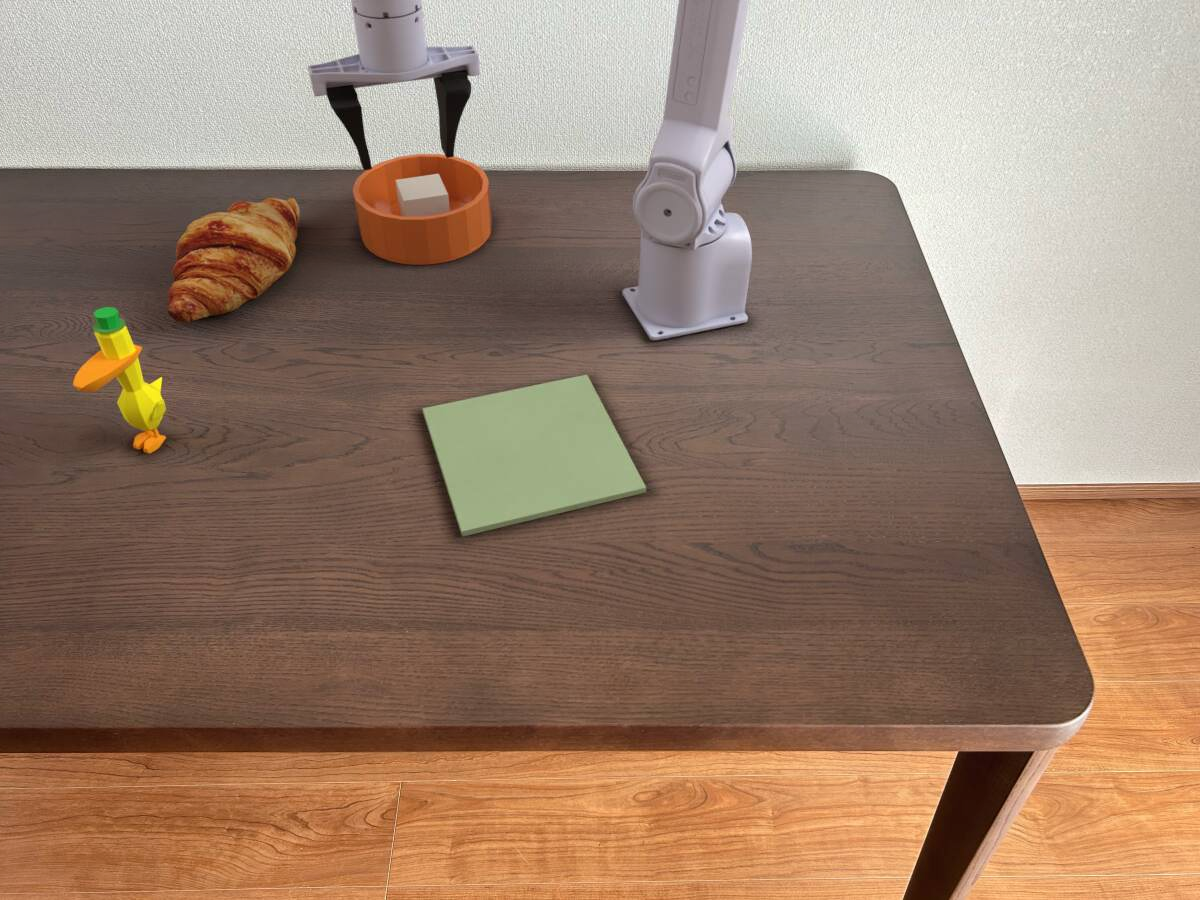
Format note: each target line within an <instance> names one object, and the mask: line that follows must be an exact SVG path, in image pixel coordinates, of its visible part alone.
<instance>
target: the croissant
mask: <svg viewBox="0 0 1200 900" xmlns="http://www.w3.org/2000/svg"><path fill="white" fill-rule="evenodd" d="M300 213H301V210H300V206H299V204H298V203H297V201H296V199H295V198H293V197H291V198H288V199H287V200H285V199H281V198H275V197H267V198H265V199H263V201H261V202H253V201H245V200H243V201H242V200H240V201H239V200H237V201H235V202H233V203H232V204H231V205H230V206H229V207H228V208H227V211H226V212H224V211H223V212H222V211H219V212H214V213H208V214H206V215H203V216H202V217H200V218H199V219H194V220H193V221H192V222H191V223H190V224H188V225H187V228H186V230H185V232H183V234H182V235H181V236H180V238H179V240H178V241H177V245H176V251H175V261H176V262H175V264H174V267H173V269H172V276H173V282H172V284H171V286H170V288H169V290H168V292H167V296H166V297H167V298H166V299H167V303H168V304H167V309H166V312H167V315H168V316H169V318H171V319H173V320H174V322H180V323H181V322H182V323H184V322H186V323H189V322H193V321H197V320H199V319H202V318H208V317H209V316H219V315H220V316H221V315H225V314H227V313H231V312H232V311H233V312H234V311H235V310H238V309H239V308H240V307H241V306H242V305H244V304H245V303H247V302H248V301H251V300H253V299H257V298H258V297H260V296H261V295H262V294H264V293H265V292H266V291H267V290H268V289H269V288H270V287H271V286H272V285H273V284H274V283H275V282H277V281H278V279H280V278H281V277H282V276H283V275H284V274H285V273H287V272H288V270H289V269H290V268H291V266H292V264H293V262H294V259H295V256H296V252H297V247H296V245H295V243H296V240H297V236H298V226H299V223H300V221H299V220H300Z"/></svg>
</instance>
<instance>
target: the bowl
mask: <svg viewBox="0 0 1200 900" xmlns="http://www.w3.org/2000/svg"><path fill="white" fill-rule="evenodd" d="M371 168H372V169H370V170H364V171H363V172H362V173H361V174H360V175H359V176H358V177H357V178H356V179H355V182H354V185H353V188H352V196H353V202H354V207H355V213H356V218H357V223H358V224H357V225H358V230H359V234H360V236H361V241H362V244H363V245H364V247H365V248H366V249H367V250H368V251H370V252H371V253H372V254H373V255H375V256H377V257H379V258H381V259H383V260H386V261H389V262H394V263H397V264H402V265H403V264H404V265H411V266H412V265H414V266H425V265H436V264H443V263H447V262H448V263H449V262H452V261H454V260H458V259H461V258H463V257H466V256H468V255H470V254H472V253H473V252H475V251H477V250H478V249H479V248H480V247H481V246H483V245H484V244H485V243H486V242H487V240H488V239H489V237H490V236H491V233H492V222H493V219H492V205H491V204H492V203H491V191H490V180H489V178H488V176H487V174H486V173H485V171H484V170H483V169H482V168H481V167H479V165H476V164H475V163H474V162H472V161H469V160H466V159H464V158H461V157H458V156H455V155H454V156H453V157H449V158H447V157H446V155H445V154H441V153H416V154H409V155H402V156H396V157H394V158H390V159H387V160H383V161H381V162H378V163H376V164H375V165H373V166H371ZM433 174H439V175H440V178H441V180H442V182H443V184H444V186H445V189H446V191H447V193H448V198H449V208H450V211H449V212H446V213H443V214H436V215H430V216H401V215H400V208H399V202H398V195H397V188H396V181H395V180H399V179H405V178H412V177H419V176H426V175H433Z"/></svg>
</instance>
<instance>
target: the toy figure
mask: <svg viewBox="0 0 1200 900" xmlns="http://www.w3.org/2000/svg"><path fill="white" fill-rule="evenodd" d="M119 314H120V313H119V310H118V309H117V308H116V307H114V306H112V307H111V306H104V307H102V308H98V309H95V311H94V312H93V317H94V319H95V322H94V323H93V325H92V329H93V331H94V332H93V334H94V336H95V338H96V341H97V343H98V345H99V347H100V350H99V351H98V352H96V353H95V354H94V355H92V357H90V358H89V359H87V361H86V362H85V363H84V364H83V365H82V366H81V367H80V368H79V370H78V371H77V372H76V374H75V376H74V379H73V383H72V386H73V387H74V388H75V389H76V390H77V391H78V392H87V393H89V392H91V393H92V392H96V391H98V390H99V389H101V388H102V387H103V388H104V386H106V385H107V384H108V383H110V382H111V381H113V380H114V379H117V381H118V383H119V384H120V386H121V388H122V390H121V393H120V394H119V397H118V399H117V401H116V404H117V406H118V410H120V413H121V414H122V417H123V419H124V420H125V421H126V422H127V423H128V425H130V426H132V427H133V428H135V429H138V430H140V431H143V432H140V433H138V434H137V435H135V436H134V440H133V444H132V447H133V449H136V450H138V451H139V450H141V449H142V451H143V452H144V453H145V454H148V455H149V454H152V453H153V452H155V451H157V450H158V449H160V447H161V446H162V444H163V443H164V442H165V440H166V439H167V437H166V435H164V434H160V433H159V432H160V431H159V430H158V427H159V425H160V423H161V422H162V419H163V417H164V414H165V413H166V411H167V407H166V403H165V402H166V401H165V399H163V396H162V395H161V392H162V383H163V376H161V377H159V378H158V379H156V380H154V381H152V382H151V383H148V382H146V381H144V376H143V373H142V368H141V363H140V358H139V355H140V353H141V352H142V350H143V347H142V346H141V345H137V344H134V342H133V340H132V337H131V334H130V332H129V330H128V327H127V326H126V321H125V319H123V318H121V317H119Z"/></svg>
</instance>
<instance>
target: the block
mask: <svg viewBox="0 0 1200 900" xmlns="http://www.w3.org/2000/svg"><path fill="white" fill-rule="evenodd" d="M395 181H396V188H397V195H398V202H399V208H400V215H401V216H430V215H436V214H443V213H446V212H449V211H450V208H449V198H448V193H447V191H446V189H445V186H444V184H443V182H442V180H441V178H440V175H439V174H433V175H426V176H419V177H412V178H405V179H399V180H395Z"/></svg>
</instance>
